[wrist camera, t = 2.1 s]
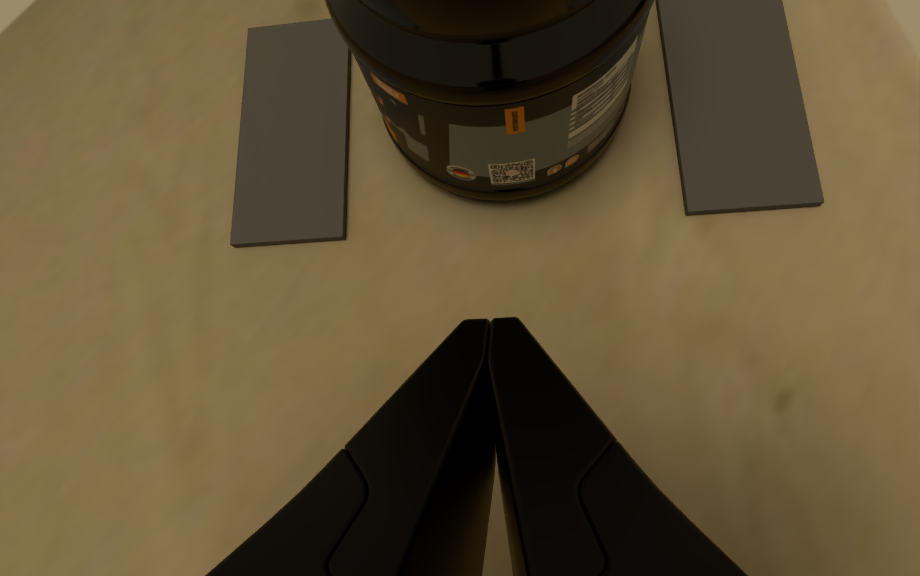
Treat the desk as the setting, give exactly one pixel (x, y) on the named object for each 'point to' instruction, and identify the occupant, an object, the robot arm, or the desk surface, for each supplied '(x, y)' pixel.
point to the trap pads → (690, 92)
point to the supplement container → (497, 85)
